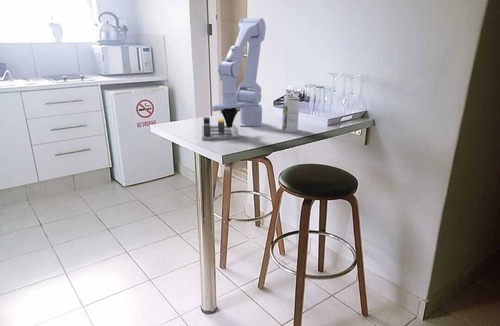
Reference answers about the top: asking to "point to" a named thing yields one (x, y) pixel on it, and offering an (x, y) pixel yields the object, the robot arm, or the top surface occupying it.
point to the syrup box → (290, 113)
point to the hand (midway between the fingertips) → (229, 127)
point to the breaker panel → (218, 132)
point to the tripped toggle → (220, 124)
